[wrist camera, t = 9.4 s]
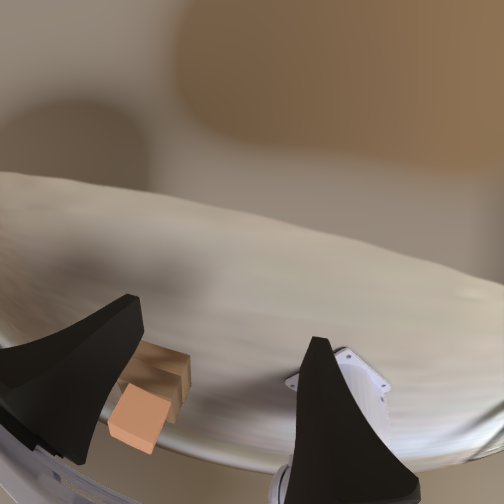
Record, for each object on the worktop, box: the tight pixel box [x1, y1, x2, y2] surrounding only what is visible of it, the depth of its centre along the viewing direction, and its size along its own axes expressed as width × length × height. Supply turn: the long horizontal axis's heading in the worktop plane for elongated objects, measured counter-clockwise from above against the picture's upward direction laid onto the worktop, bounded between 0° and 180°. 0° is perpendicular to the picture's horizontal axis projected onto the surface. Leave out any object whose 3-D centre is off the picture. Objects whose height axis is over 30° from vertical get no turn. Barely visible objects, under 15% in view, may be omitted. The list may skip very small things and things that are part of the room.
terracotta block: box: [108, 383, 171, 454], centre depth 22 cm, size 4×4×5 cm
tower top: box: [117, 358, 182, 424], centre depth 26 cm, size 6×6×3 cm
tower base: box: [131, 340, 191, 403], centre depth 28 cm, size 6×6×3 cm
